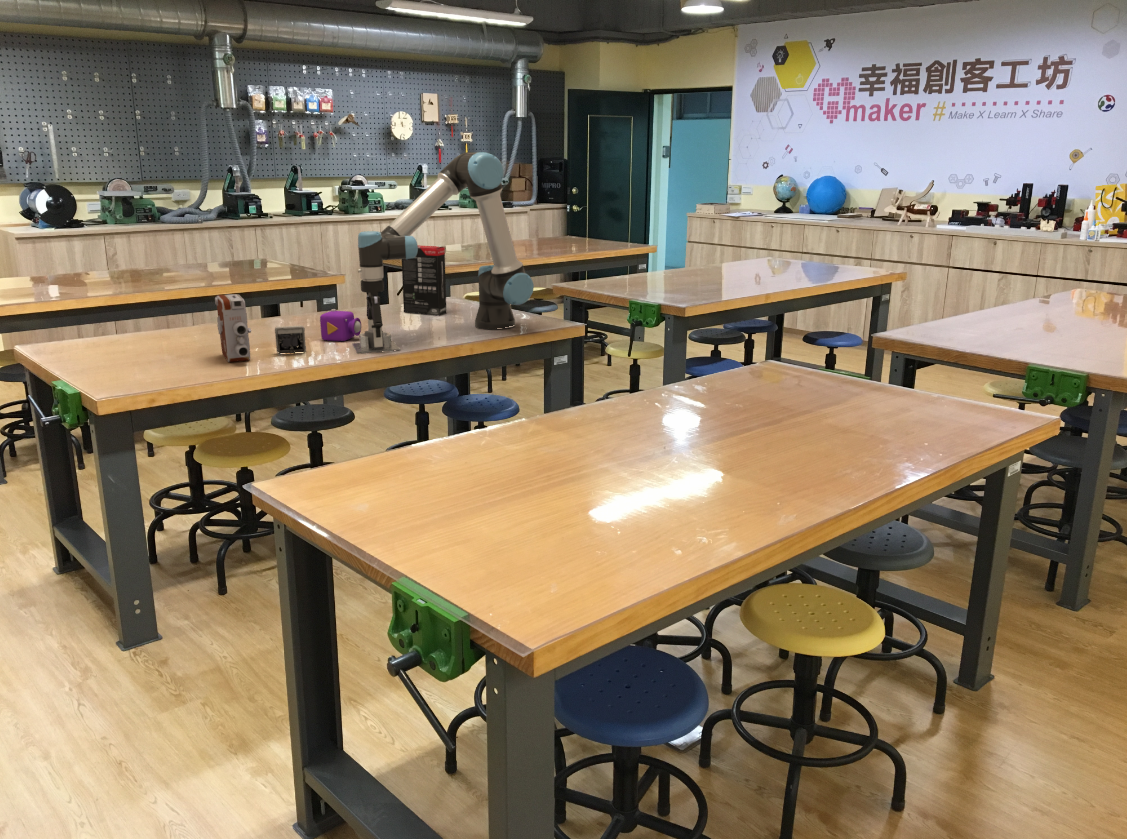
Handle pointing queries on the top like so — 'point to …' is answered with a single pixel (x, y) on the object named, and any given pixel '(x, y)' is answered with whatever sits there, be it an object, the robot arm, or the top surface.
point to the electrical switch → (290, 339)
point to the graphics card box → (425, 281)
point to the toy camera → (339, 325)
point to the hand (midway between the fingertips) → (375, 342)
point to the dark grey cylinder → (372, 338)
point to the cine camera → (233, 327)
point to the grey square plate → (364, 348)
